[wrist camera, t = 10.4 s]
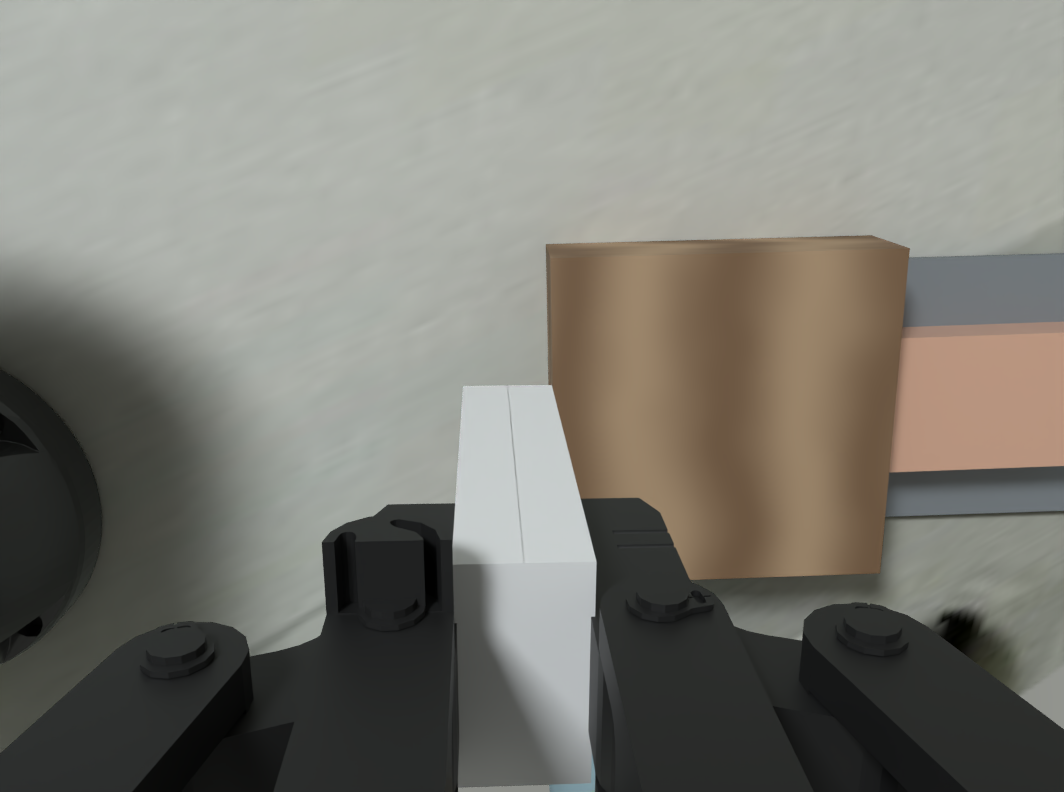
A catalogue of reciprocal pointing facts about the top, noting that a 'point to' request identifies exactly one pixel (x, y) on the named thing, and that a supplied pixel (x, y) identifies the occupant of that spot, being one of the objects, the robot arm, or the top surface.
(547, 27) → the top surface
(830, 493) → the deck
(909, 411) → the tile
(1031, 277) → the mat
